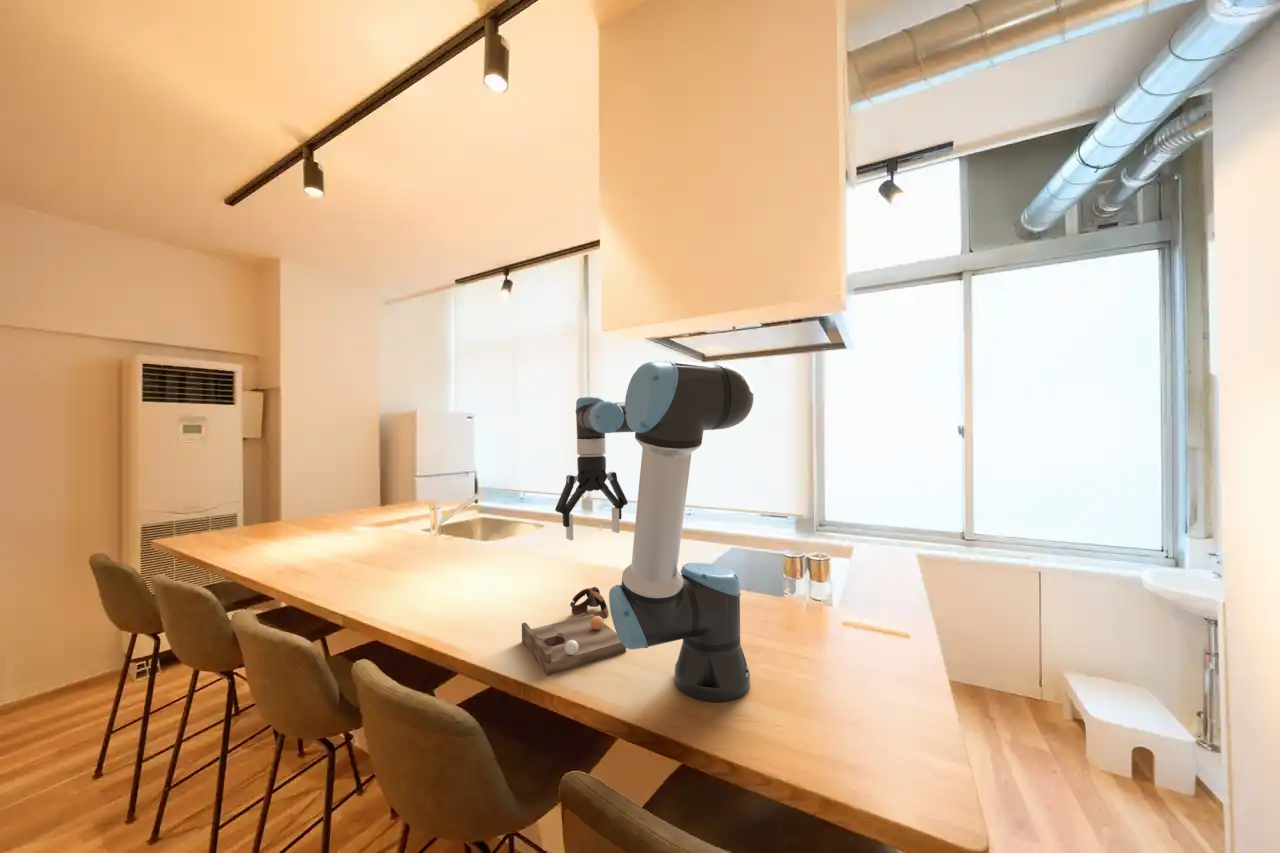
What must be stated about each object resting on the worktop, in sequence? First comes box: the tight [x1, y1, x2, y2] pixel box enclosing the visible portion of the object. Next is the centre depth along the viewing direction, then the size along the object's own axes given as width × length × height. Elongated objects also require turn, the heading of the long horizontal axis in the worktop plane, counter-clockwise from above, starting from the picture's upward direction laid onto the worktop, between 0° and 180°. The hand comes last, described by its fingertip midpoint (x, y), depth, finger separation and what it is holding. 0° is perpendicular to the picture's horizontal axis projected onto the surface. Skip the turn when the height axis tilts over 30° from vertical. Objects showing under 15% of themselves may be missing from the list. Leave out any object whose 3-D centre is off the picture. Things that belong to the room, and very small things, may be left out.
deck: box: [521, 613, 627, 677], centre depth 111 cm, size 18×19×4 cm
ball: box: [591, 615, 605, 630], centre depth 114 cm, size 3×3×3 cm
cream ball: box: [565, 640, 578, 655], centre depth 102 cm, size 3×3×3 cm
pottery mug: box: [569, 586, 609, 619], centre depth 129 cm, size 12×10×8 cm
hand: (593, 535), depth 124 cm, fingers open, 13 cm apart
